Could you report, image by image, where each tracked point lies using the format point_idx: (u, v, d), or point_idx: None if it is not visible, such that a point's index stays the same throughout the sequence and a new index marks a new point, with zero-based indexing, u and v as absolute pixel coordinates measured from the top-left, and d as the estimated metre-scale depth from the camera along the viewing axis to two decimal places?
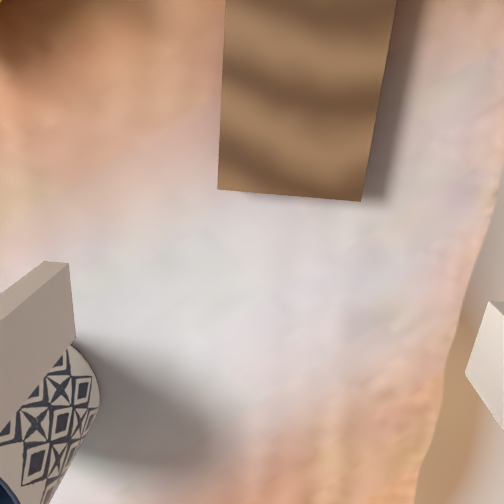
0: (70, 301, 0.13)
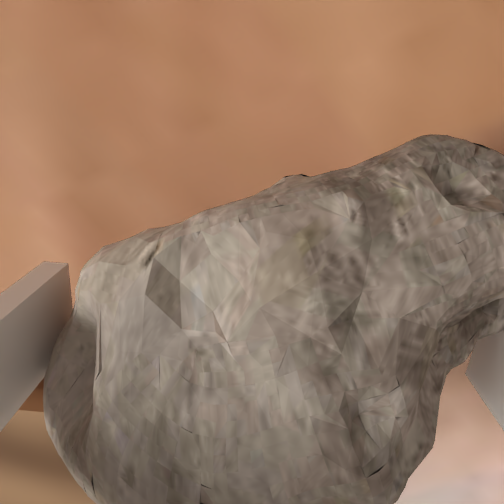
0: (70, 301, 0.13)
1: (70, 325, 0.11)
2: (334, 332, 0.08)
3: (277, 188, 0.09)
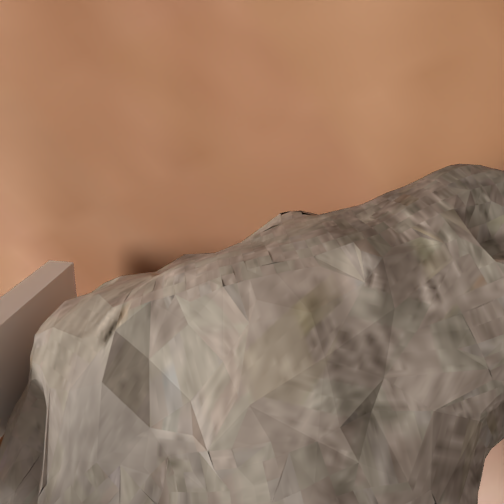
0: None
1: (25, 398, 0.09)
2: (348, 433, 0.06)
3: (271, 234, 0.07)
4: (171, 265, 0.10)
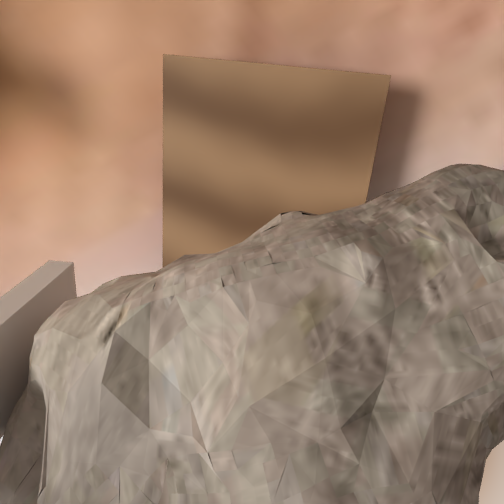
0: None
1: (24, 399, 0.09)
2: (349, 434, 0.06)
3: (271, 235, 0.07)
4: (171, 265, 0.10)
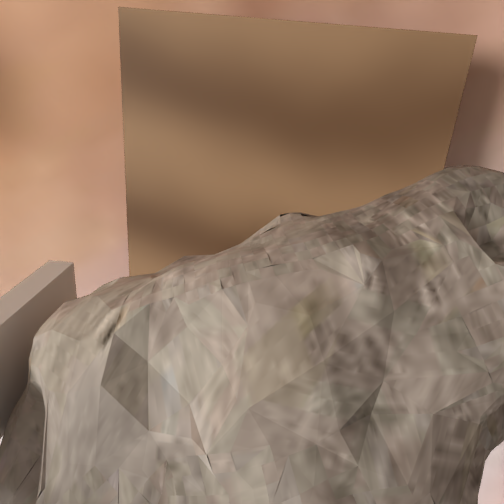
0: None
1: (24, 400, 0.09)
2: (347, 436, 0.06)
3: (270, 236, 0.07)
4: (170, 267, 0.10)
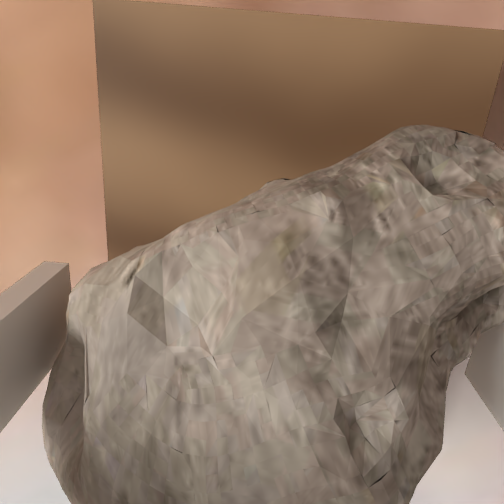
0: None
1: (64, 350, 0.10)
2: (322, 337, 0.07)
3: (256, 194, 0.09)
4: None
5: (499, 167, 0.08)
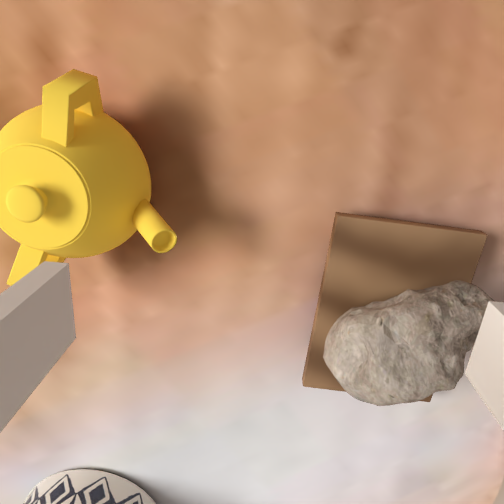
0: (70, 301, 0.13)
1: (341, 343, 0.32)
2: (436, 341, 0.30)
3: (412, 299, 0.31)
4: (373, 305, 0.34)
5: (481, 297, 0.31)
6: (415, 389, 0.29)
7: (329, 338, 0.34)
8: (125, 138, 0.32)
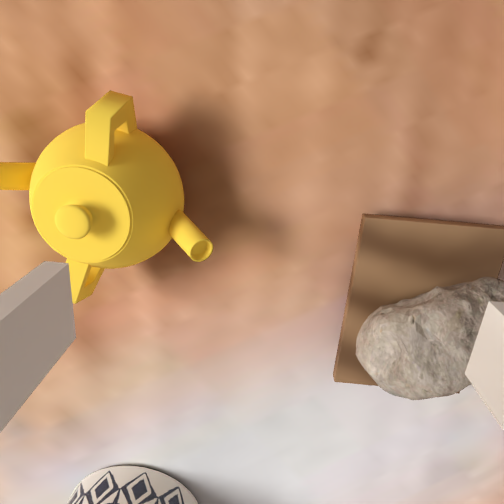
0: (70, 301, 0.13)
1: (374, 341, 0.34)
2: (468, 337, 0.31)
3: (442, 297, 0.32)
4: (403, 303, 0.35)
5: None
6: (448, 383, 0.30)
7: (361, 336, 0.36)
8: (159, 153, 0.33)
